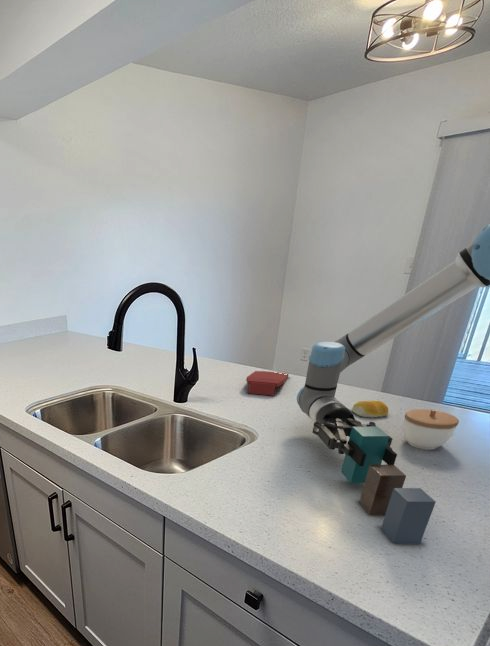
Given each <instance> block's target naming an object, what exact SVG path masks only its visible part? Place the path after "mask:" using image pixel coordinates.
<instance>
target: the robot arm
mask: <svg viewBox="0 0 490 646" xmlns="http://www.w3.org/2000/svg"><path fill="white" fill-rule="evenodd" d="M489 286H490V223H489V224H488V225H486V227H484V228H483V229H482V230H481V232H480V233H479V234H478V236H477V237H476V238H475V240H474V241H473V242H472V243H470V244H469V245H468V246H466V247H465V248H464V249H462V250H461V251H459V252H458V253H457V254H456V257H455V259H454V261H452V262H451V263H449V264H448V265H446V266H445V267H444V268H442V269H441V270H439V271H438V272H436V273H435V274H433V275H431V276H430V277H429V278H427V279H426V280H424V281H423V282H421V283H419V284H418V285H417V286H416V287H414V288H413V289H411V290H409V291H408V292H407V293H405V294H404V295H402V296H401V297H399V298H397V299H396V300H395V301H393V302H391V303H390V304H389V305H388V306H386V307H385V308H383V309H381V310H379V312H377V313H376V314H374V315H372V316H371V317H369V318H368V319H367V320H365V321H364V322H362V323H361V324H359V325H358V326H356V327H355V328H354V329H352V330H350V331H349V332H348V333H346V334H344V335H343V336H342V337H340V338H339V339H337V340H334V341H321V342H316V343H314V344H313V346H312V347H311V351H310V354H309V356H308V366H307V371H306V376H305V382H304V385H303V387H301V388H300V390H299V391H298V393H297V395H296V403H297V405H298V406H299V408H300V410H301V412H302V413H304V414H305V415H306V416H307V417H308V418H309V419H310V420H311V422H313V426H312V430H311V433H312V434H314V435H315V436H317V437H318V438H319V439H320V440H321V441H322V443H323V444H324V445H325V446H326V447H327V448H328V449H329V450H331V451H333V450H335V449H337V454H339V455H345V454H346V455H347V456H350V457H351V458H352V459H353V460H354V461H355V462H356V463H357V464H358V465H359V466H363V465H364V461H365V458H366V453H365V452H364V451H363V450H362V449H360V448H359V447H358V446H357V445H356V444H355V443H354V442H353V441H349V440H348V438H347V437H349V438H350V434H351V430H352V427H378V426H377V425H376V422H374V421H369V422H368V423H366V424H364V423H362V422H361V421H359V420H357V419H356V418H355V415H354V412H353V411H352V410H350V409H349V408H348V407H346V406H345V405H344V404H343V403H342V402H341V401H340V400H338V399H337V398H336V392H337V388H338V383H339V379H340V375H341V373H342V372H343V371H344V370H346V369H347V368H348V367H350V366H351V365H353V364H354V363H356V362H358V361H360V359H362V358H364V357H365V356H367V355H369V354H370V353H372V352H373V351H376V350H377V349H378V348H380V347H382V346H383V345H384V344H387V343H388V342H390V341H391V340H393V339H395V338H397V337H398V336H400V335H402V334H403V333H404V332H406V331H408V330H410V329H411V328H413V327H414V326H416V325H417V324H419V323H421V322H423V321H424V320H426V319H427V318H429V317H431V316H432V315H434V314H436V313H437V312H439V311H441V310H442V309H444V308H445V307H447V306H449V305H451V304H452V303H455V301H458V300H459V299H460V298H462V297H463V296H465V295H467V294H468V293H470V292H472V291H473V290H475V289H477V288H487V287H489ZM392 442H393V438H392V437H391V436H390V435H389V439H388V443H387V446H386V449H385V453H384V456H383V459H382V462H384V463H385V464H386V465H395V463H396V459H397V456H398V453H396V451H394V450H393V448H392V447H391V445H392Z"/></svg>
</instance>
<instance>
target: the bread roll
mask: <svg viewBox="0 0 490 646" xmlns="http://www.w3.org/2000/svg"><path fill="white" fill-rule="evenodd" d="M351 411H352V413H353V414H356V415H357V416H358V417H363V418H369V419H370V418H372V419H373V418H382V417H386V416H388V413H389V407H388V406H387V404H386V403H385V402H383V401H380V400H361V401H357V402H356V403H354V404H353V405H352V408H351Z"/></svg>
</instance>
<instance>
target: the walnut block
mask: <svg viewBox="0 0 490 646" xmlns="http://www.w3.org/2000/svg"><path fill="white" fill-rule="evenodd" d="M406 478H407V475H406V473H404V472H403V471H402V470H401V469H399V467H397V466H396V465H395V464H394V465H388V464H381V465H370V466H369V469H368V473H367V476H366V480H365V483H363V486H362V487H363V488H362V490H361V495H360V497H359V502H358V503H359V504H360V505H361V507H362V508H363V509H364V510H365V511H366V512H367V514H368V515H369V516H385V514H386V511H387V508H388V504H389V501H390V498H391V495H392V492H393V489H394V488H404V484H405V482H406V481H405V480H406Z"/></svg>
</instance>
